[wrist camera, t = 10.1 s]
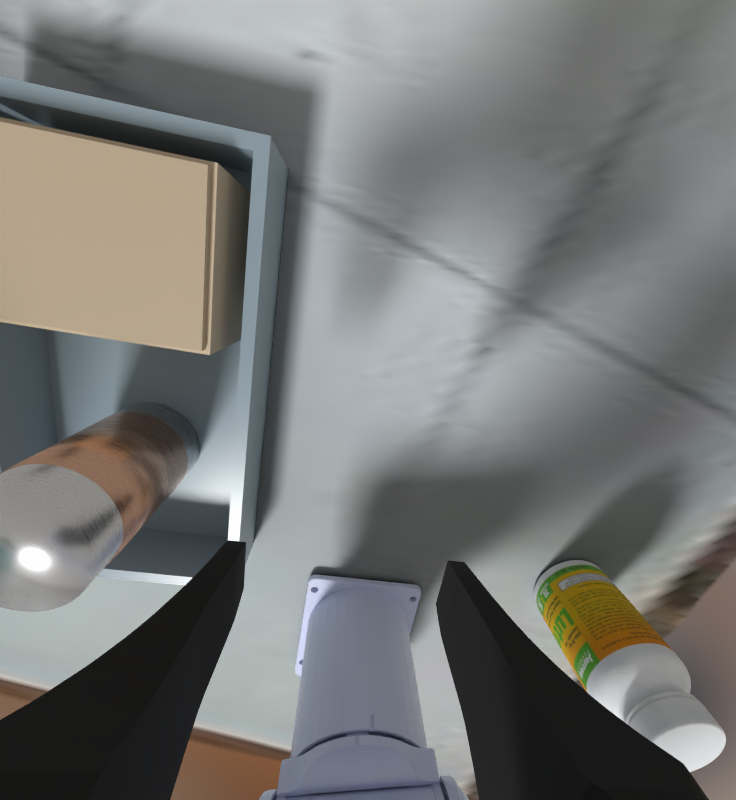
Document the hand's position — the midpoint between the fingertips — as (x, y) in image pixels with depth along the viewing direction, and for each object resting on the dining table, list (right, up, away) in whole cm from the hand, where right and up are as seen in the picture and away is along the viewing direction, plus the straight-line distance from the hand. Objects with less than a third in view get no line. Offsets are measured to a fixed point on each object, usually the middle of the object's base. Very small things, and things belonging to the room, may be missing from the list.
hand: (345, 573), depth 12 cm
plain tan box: (-10, +13, +5) cm, 17 cm away
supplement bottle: (+16, -8, +14) cm, 22 cm away
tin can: (-12, +4, +8) cm, 15 cm away
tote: (-11, +8, +7) cm, 15 cm away
